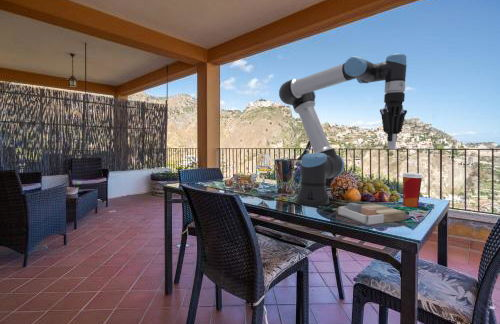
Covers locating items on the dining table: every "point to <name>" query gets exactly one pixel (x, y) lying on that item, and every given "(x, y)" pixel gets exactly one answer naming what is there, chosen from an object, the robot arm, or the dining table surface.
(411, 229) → the dining table surface
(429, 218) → the dining table surface
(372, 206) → the board
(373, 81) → the robot arm
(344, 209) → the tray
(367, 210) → the tan block
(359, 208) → the tile grey
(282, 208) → the dining table surface
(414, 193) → the coffee cup
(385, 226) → the dining table surface
